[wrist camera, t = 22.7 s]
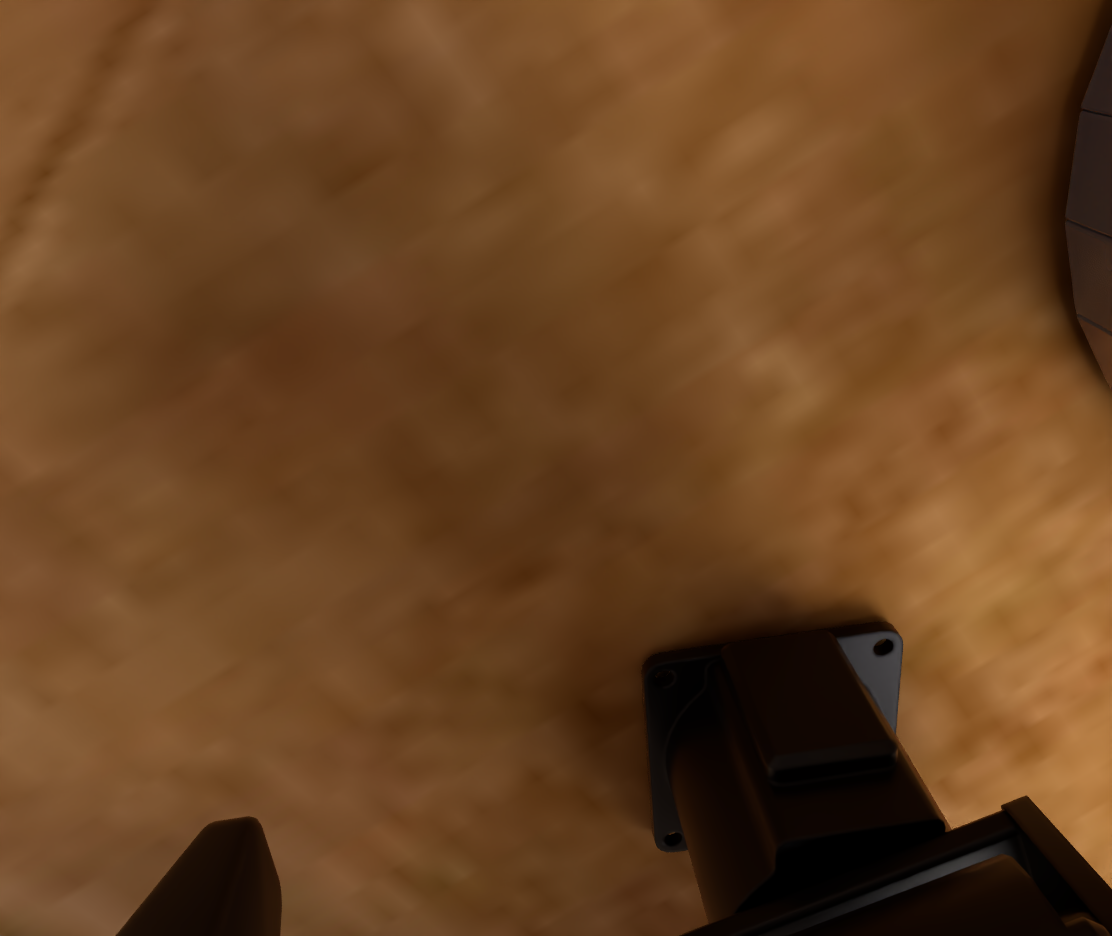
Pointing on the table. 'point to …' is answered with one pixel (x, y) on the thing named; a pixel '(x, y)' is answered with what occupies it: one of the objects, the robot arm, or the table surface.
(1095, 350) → the bowl
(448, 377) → the table surface
